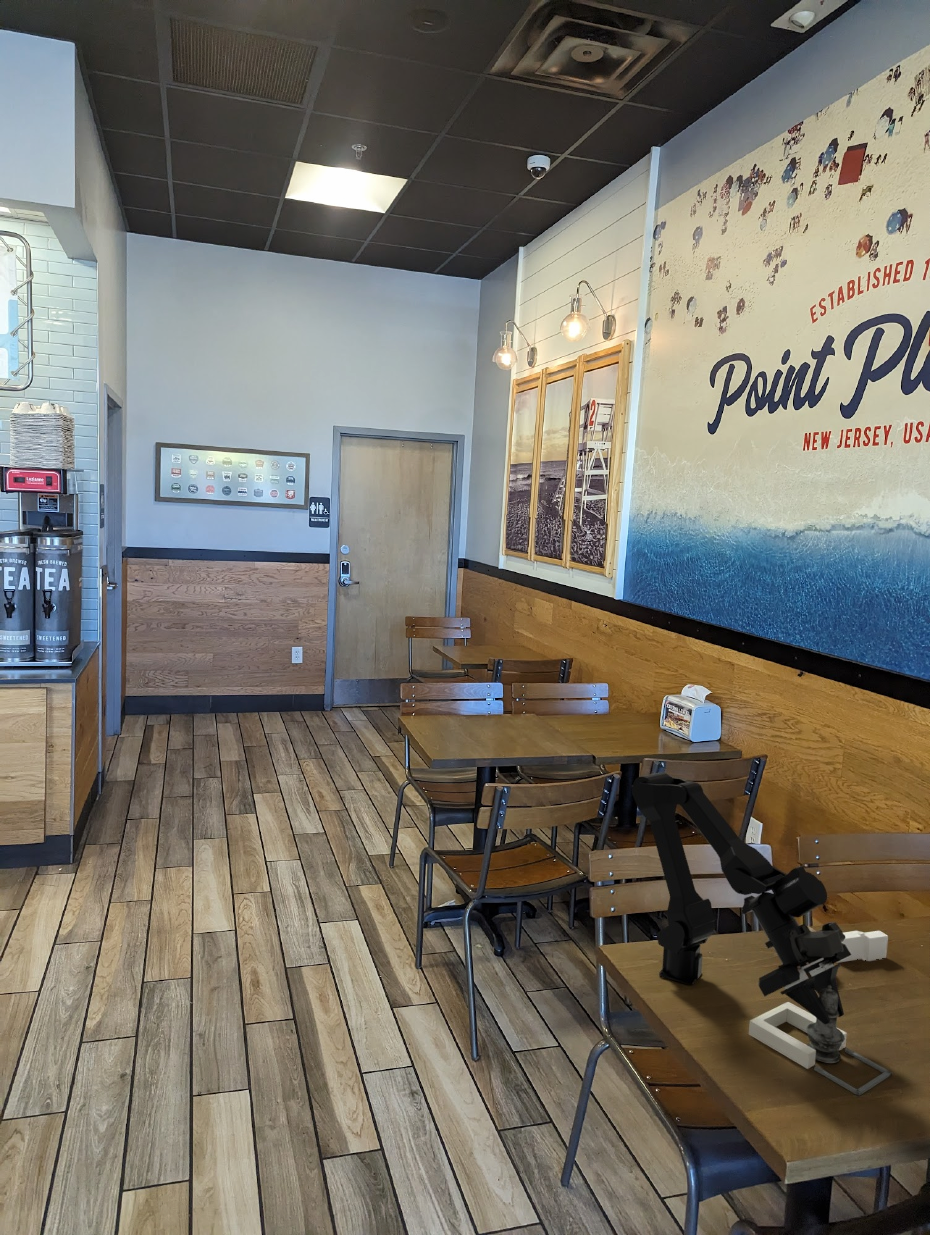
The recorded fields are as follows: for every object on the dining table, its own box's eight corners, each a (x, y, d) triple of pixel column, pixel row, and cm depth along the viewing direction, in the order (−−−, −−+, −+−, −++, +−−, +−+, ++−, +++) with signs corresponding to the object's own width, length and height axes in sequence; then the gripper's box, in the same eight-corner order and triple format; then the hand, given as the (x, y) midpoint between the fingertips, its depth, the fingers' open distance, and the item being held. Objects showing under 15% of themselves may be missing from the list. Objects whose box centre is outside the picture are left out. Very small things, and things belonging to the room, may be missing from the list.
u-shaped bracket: (748, 1034, 148) (749, 1020, 148) (786, 1014, 155) (787, 1001, 154) (807, 1069, 139) (808, 1054, 139) (845, 1046, 146) (846, 1032, 145)
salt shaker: (846, 1067, 140) (853, 996, 138) (807, 1061, 141) (814, 991, 139) (838, 1045, 145) (845, 978, 144) (801, 1039, 147) (807, 972, 145)
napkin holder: (821, 966, 174) (824, 939, 173) (819, 941, 184) (821, 915, 184) (904, 982, 169) (907, 954, 168) (897, 955, 179) (900, 929, 179)
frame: (814, 1069, 139) (814, 1067, 139) (847, 1050, 145) (847, 1048, 145) (858, 1096, 133) (859, 1093, 133) (891, 1074, 139) (891, 1072, 139)
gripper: (780, 922, 138) (838, 1022, 130) (845, 896, 149) (902, 987, 141) (735, 948, 145) (787, 1043, 138) (800, 921, 156) (852, 1008, 149)
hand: (834, 1019), depth 141 cm, fingers closed on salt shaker, 4 cm apart
